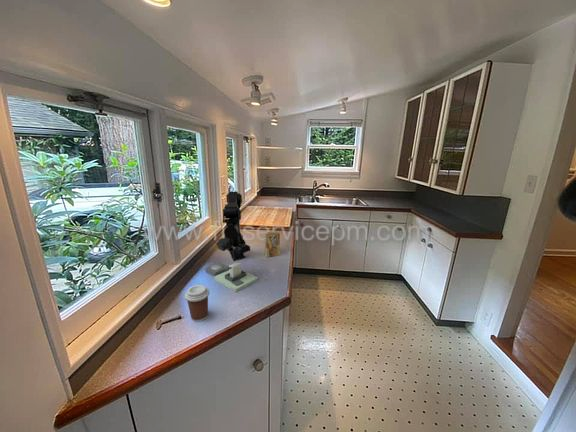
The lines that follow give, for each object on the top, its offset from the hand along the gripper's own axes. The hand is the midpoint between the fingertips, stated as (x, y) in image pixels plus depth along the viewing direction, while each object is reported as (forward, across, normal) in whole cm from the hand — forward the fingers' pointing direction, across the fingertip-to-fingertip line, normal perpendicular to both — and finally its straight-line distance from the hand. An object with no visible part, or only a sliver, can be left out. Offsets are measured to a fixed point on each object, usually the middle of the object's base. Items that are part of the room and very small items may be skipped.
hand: (234, 261), depth 121 cm
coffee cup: (+11, +12, -27) cm, 31 cm away
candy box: (+11, -7, +34) cm, 36 cm away
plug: (+9, 0, -1) cm, 9 cm away
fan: (+10, -15, -1) cm, 18 cm away
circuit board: (+10, 0, 0) cm, 11 cm away
